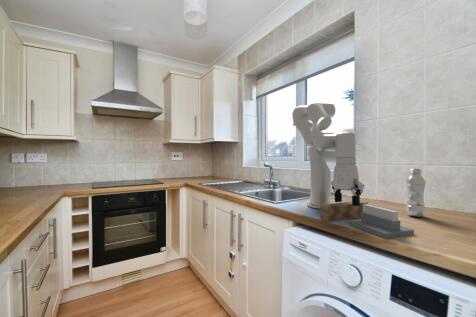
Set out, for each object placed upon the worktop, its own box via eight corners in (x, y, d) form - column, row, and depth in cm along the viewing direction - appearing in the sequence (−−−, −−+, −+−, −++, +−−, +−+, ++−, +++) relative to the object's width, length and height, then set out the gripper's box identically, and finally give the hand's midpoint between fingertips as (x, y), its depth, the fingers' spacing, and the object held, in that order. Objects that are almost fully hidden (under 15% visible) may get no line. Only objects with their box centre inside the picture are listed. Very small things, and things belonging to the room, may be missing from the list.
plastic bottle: (425, 216, 95) (426, 168, 95) (425, 219, 90) (425, 169, 90) (406, 213, 99) (407, 168, 99) (405, 216, 94) (405, 169, 94)
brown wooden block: (327, 222, 88) (327, 206, 88) (320, 219, 92) (320, 204, 92) (368, 216, 96) (368, 202, 96) (360, 214, 100) (360, 200, 100)
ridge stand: (348, 224, 84) (348, 204, 84) (373, 221, 88) (373, 202, 88) (385, 238, 70) (385, 214, 70) (413, 234, 73) (413, 211, 73)
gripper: (324, 162, 101) (325, 201, 100) (354, 162, 84) (356, 208, 83) (338, 162, 103) (339, 200, 102) (370, 161, 86) (371, 206, 86)
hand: (346, 203), depth 93 cm, fingers open, 9 cm apart
